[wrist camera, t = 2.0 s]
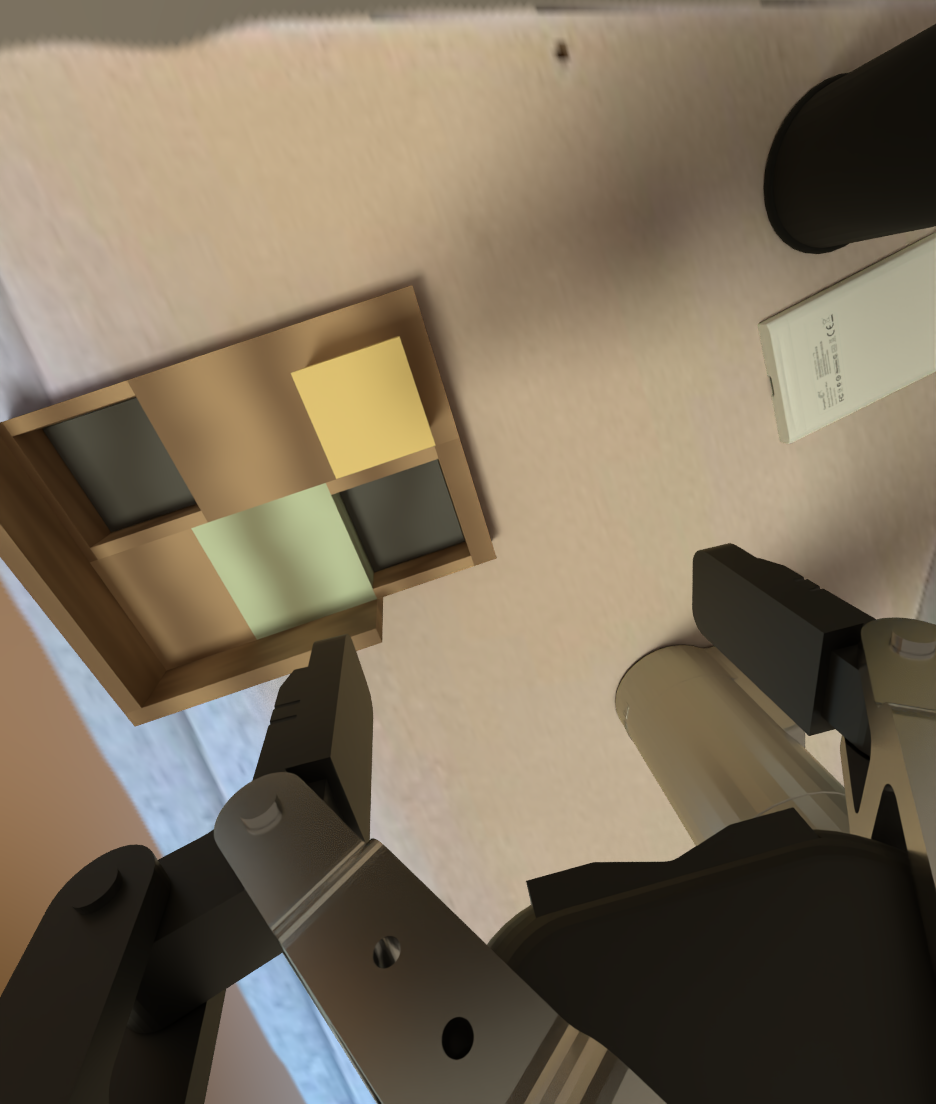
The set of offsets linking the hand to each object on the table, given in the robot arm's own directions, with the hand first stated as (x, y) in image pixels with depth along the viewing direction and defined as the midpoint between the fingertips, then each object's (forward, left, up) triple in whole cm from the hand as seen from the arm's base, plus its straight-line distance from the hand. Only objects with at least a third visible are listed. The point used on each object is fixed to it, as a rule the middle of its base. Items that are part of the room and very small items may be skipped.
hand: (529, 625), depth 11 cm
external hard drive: (-28, +3, -22) cm, 35 cm away
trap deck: (+10, 0, -22) cm, 24 cm away
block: (+3, -4, -19) cm, 20 cm away
